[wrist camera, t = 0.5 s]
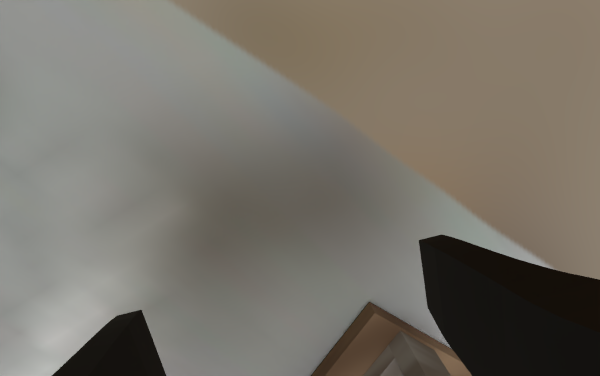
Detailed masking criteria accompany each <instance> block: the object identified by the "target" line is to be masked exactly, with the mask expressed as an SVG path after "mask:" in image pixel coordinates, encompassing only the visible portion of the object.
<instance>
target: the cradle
mask: <svg viewBox="0 0 600 376" xmlns="http://www.w3.org/2000/svg"><path fill="white" fill-rule="evenodd" d="M312 376H472V375H471V373H470V372H469V371H468V369H467V368H466V367H465V365H464V364H463V363H462V361H461V360H460V359H459V357H458V356H457V355H456V353H455V352H454V351H453V350H452V349H450V348H448V347H447V346H445V345H443V344H441V343H440V342H438V341H436V340H435V339H433V338H431V337H429V336H428V335H426V334H424V333H422V332H421V331H419V330H417V329H415V328H414V327H412V326H410V325H408V324H407V323H405V322H403V321H402V320H400V319H398V318H396V317H395V316H393V315H391V314H389V313H388V312H386V311H384V310H382V309H381V308H379V307H377V306H376V305H374V304H372V303H370V302H369V303H368V304H367V306H366V307H365V308H364V310H363V311H362V312H361V313H360V315H359V316H358V317H357V318H356V320H355V321H354V322H353V323H352V325H351V326H350V327H349V329H348V330H347V331H346V332H345V334H344V335H343V336H342V337H341V339H340V340H339V341H338V343H337V344H336V345H335V346H334V348H333V349H332V350H331V351H330V353H329V354H328V355H327V356H326V358H325V359H324V360H323V362H322V363H321V364H320V365H319V367H318V368H317V369H316V370H315V372H314V373H313V374H312Z"/></svg>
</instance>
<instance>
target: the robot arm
mask: <svg viewBox="0 0 600 376" xmlns="http://www.w3.org/2000/svg"><path fill="white" fill-rule="evenodd" d="M419 245H420V252H421V260H422V267H423V275H424V283H425V290H426V298H427V305H428V309H429V311H430V313H431V314H432V316H433V318H434V320H435V322H436V324H437V326H438V327H439V329H440V331H441V333H442V334H443V336H444V338H445V340H446V341H447V342H448V344H449V345H450V347H451V348H452V349H453V351H454V352H455V353H456V355H457V356H458V357H459V359H460V360H461V361H462V363H463V364H464V365H465V367H466V368H467V369H468V371H469V372H470V373H471V375H472V376H600V280H598V279H594V278H589V277H584V276H579V275H574V274H569V273H565V272H561V271H557V270H553V269H549V268H546V267H542V266H539V265H535V264H531V263H528V262H525V261H521V260H518V259H515V258H512V257H509V256H506V255H502V254H500V253H497V252H494V251H491V250H488V249H485V248H482V247H479V246H476V245H473V244H471V243H468V242H465V241H462V240H459V239H456V238H453V237H449V236H445V235H438V236H434V237H430V238H426V239H422V240H419ZM52 376H166V374H165V371H164V369H163V366H162V363H161V361H160V358H159V355H158V353H157V350H156V347H155V345H154V342H153V339H152V337H151V334H150V331H149V329H148V326H147V323H146V321H145V318H144V315H143V313H142V310H139V311H135V312H131V313H127V314H123V315H119V316H116V317H115V318H114V319H112V320H111V321H110V322H109V323H107V324H106V325H105V326H104V327H103V328H102V329H101V330H100V331H99V332H98V333H97V334H95V335H94V336H93V337H92V338H91V339H90V340H89V341H88V342H87V343H86V344H85V345H84V346H83V347H82V348H81V349H80V350H79V351H78V352H77V353H76V354H74V355H73V356H72V357H71V358H70V359H69V360H68V361H67V362H66V363H65V364H64V365H63V366H62V367H61V368H60V369H59V370H58V371H57V372H55V373H54V374H53V375H52Z"/></svg>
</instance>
